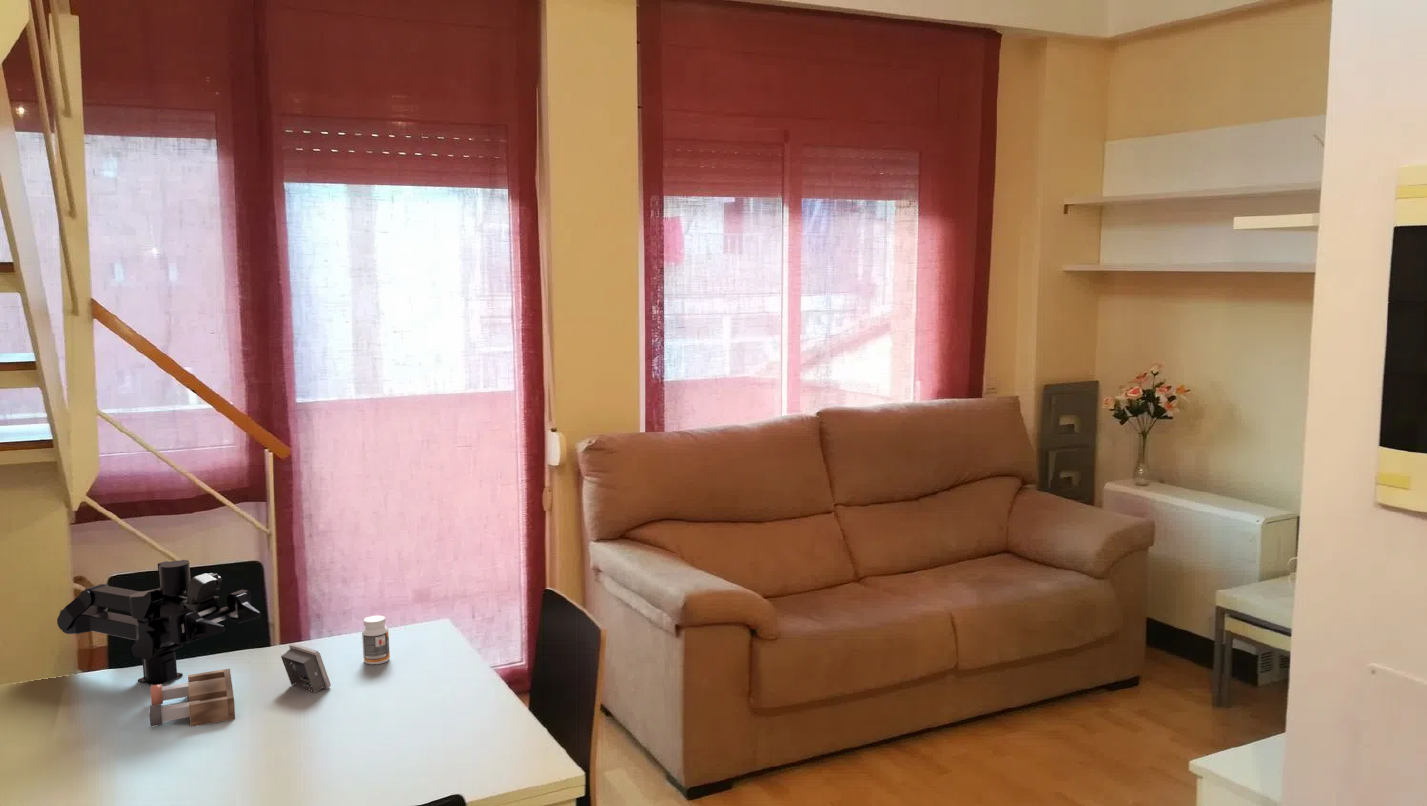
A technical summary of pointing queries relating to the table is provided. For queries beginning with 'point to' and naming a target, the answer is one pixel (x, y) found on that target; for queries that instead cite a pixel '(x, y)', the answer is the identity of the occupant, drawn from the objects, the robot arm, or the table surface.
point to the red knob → (168, 692)
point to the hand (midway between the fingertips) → (241, 621)
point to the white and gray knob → (168, 712)
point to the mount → (211, 697)
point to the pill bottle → (375, 640)
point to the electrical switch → (305, 668)
